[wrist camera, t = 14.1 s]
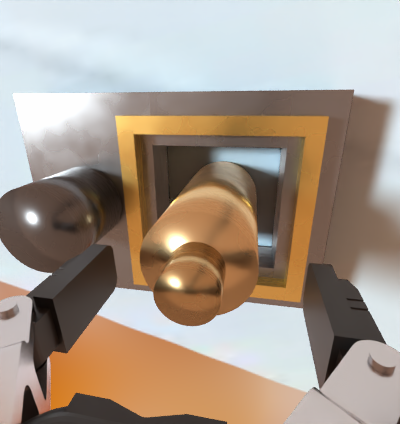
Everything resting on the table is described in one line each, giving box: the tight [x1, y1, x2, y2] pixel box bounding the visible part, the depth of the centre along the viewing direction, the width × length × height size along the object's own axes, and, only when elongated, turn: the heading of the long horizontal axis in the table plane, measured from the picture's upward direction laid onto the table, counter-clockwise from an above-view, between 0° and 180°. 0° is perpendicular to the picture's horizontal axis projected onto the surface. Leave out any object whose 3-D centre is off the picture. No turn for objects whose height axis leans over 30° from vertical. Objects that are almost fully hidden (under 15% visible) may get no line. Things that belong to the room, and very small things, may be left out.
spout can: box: [140, 161, 259, 326], centre depth 15 cm, size 5×5×12 cm
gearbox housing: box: [0, 90, 354, 308], centre depth 18 cm, size 20×14×8 cm
